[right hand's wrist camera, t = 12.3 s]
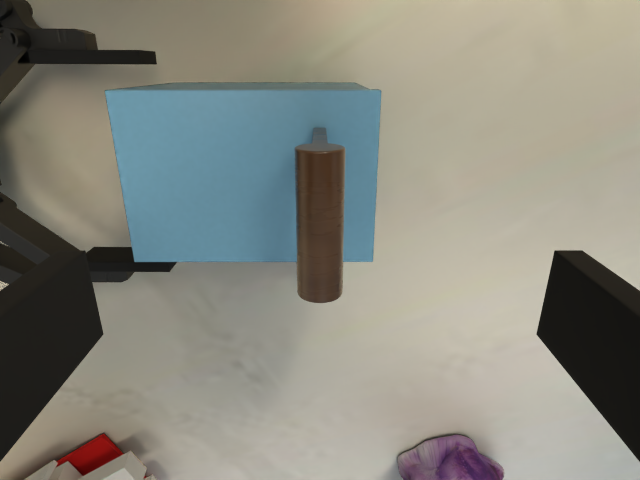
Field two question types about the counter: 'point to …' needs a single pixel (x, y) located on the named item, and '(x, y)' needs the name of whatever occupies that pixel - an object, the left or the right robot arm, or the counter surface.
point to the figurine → (448, 461)
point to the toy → (94, 464)
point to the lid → (250, 177)
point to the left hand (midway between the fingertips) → (163, 167)
